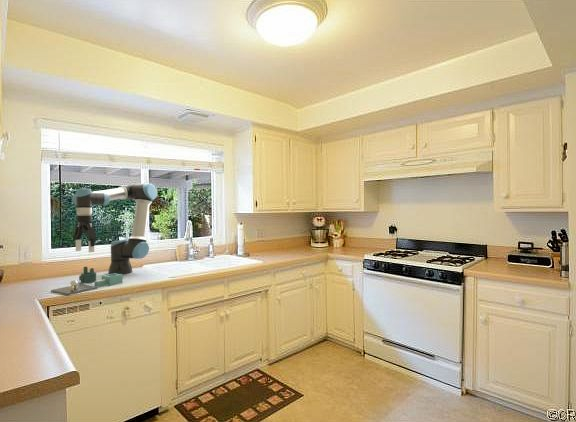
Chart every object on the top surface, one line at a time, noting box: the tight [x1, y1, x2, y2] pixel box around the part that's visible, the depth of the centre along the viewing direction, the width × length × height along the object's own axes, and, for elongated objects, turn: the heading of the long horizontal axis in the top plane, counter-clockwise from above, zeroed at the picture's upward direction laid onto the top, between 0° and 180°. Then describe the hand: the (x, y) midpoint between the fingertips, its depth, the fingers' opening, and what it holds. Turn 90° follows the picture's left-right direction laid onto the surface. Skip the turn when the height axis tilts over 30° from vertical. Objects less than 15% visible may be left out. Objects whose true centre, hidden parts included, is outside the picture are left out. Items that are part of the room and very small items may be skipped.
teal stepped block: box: [93, 273, 124, 288], centre depth 192 cm, size 14×8×5 cm, turn 152°
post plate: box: [50, 280, 99, 296], centre depth 179 cm, size 16×16×5 cm
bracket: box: [78, 266, 97, 284], centre depth 200 cm, size 9×9×9 cm
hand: (84, 251), depth 187 cm, fingers open, 13 cm apart
